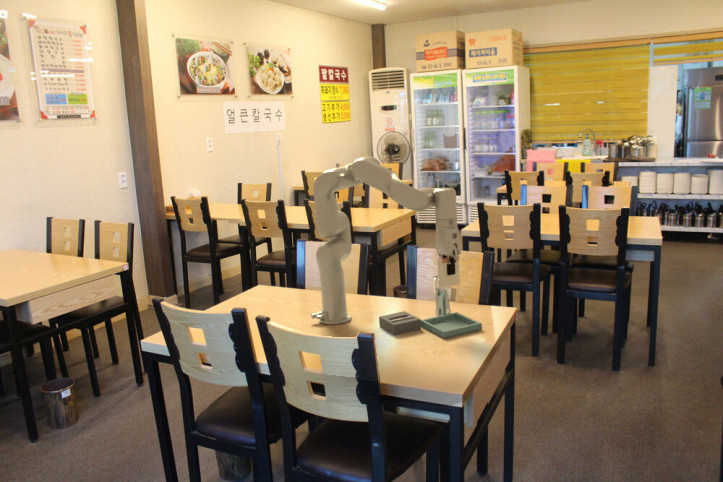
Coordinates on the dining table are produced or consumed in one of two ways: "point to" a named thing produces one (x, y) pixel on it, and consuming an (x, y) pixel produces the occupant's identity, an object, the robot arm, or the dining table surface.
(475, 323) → the tray
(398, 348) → the dining table surface
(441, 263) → the cream rectangular block
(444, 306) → the beer glass
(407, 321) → the block
